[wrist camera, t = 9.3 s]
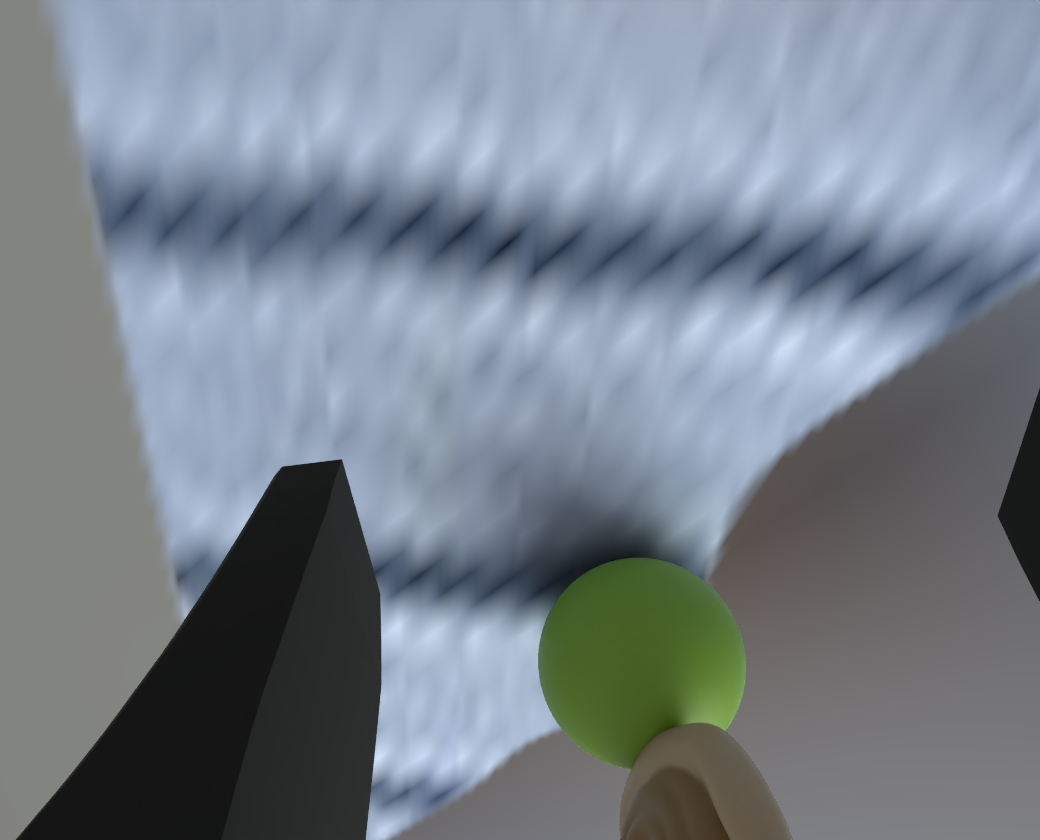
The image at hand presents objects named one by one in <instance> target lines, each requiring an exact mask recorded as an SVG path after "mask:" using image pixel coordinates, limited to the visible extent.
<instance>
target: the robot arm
mask: <svg viewBox="0 0 1040 840" xmlns="http://www.w3.org/2000/svg"><path fill="white" fill-rule="evenodd" d="M998 517H999V520H1000V522H1001V524H1002V526H1003V528H1004V530H1005V532H1006V535H1007V536H1008V539H1009V541H1010V543H1011V545H1012V547H1013V549H1014V552H1015V554H1016V556H1017V558H1018V560H1019V562H1020V564H1021V566H1022V568H1023V570H1024V572H1025V574H1026V576H1027V578H1028V580H1029V582H1030V584H1031V585H1032V587H1033V589H1034V591H1035V593H1036V595H1037V597H1038V599H1039V601H1040V389H1039V392H1038V395H1037V398H1036V401H1035V404H1034V407H1033V411H1032V414H1031V416H1030V420H1029V423H1028V426H1027V429H1026V432H1025V435H1024V438H1023V441H1022V444H1021V447H1020V450H1019V453H1018V456H1017V459H1016V462H1015V465H1014V468H1013V472H1012V474H1011V477H1010V480H1009V483H1008V486H1007V490H1006V492H1005V495H1004V499H1003V501H1002V504H1001V508H1000V510H999V513H998ZM380 693H381V609H380V592H379V588H378V584H377V581H376V577H375V574H374V570H373V567H372V563H371V560H370V556H369V553H368V549H367V546H366V542H365V539H364V535H363V532H362V528H361V525H360V521H359V518H358V514H357V511H356V507H355V504H354V500H353V497H352V493H351V490H350V486H349V483H348V479H347V476H346V472H345V469H344V465H343V462H342V459H341V460H333V461H325V462H317V463H309V464H301V465H293V466H285V467H282V468H281V469H280V470H279V471H278V473H277V474H276V475H275V476H274V478H273V479H272V481H271V483H270V484H269V486H268V488H267V489H266V491H265V493H264V494H263V496H262V498H261V499H260V501H259V503H258V504H257V506H256V508H255V509H254V511H253V513H252V515H251V516H250V518H249V520H248V521H247V523H246V525H245V526H244V528H243V529H242V531H241V533H240V534H239V536H238V538H237V539H236V541H235V543H234V544H233V546H232V547H231V549H230V551H229V552H228V554H227V555H226V557H225V559H224V560H223V562H222V564H221V565H220V567H219V568H218V570H217V572H216V573H215V575H214V576H213V578H212V579H211V581H210V582H209V584H208V585H207V587H206V588H205V590H204V591H203V593H202V594H201V596H200V597H199V599H198V601H197V602H196V604H195V605H194V607H193V608H192V610H191V611H190V613H189V614H188V616H187V617H186V619H185V620H184V622H183V623H182V625H181V626H180V628H179V629H178V631H177V632H176V634H175V636H174V637H173V638H172V640H171V641H170V643H169V644H168V646H167V647H166V648H165V650H164V651H163V653H162V654H161V656H160V657H159V658H158V660H157V661H156V662H155V664H154V665H153V667H152V668H151V669H150V671H149V672H148V673H147V675H146V676H145V678H144V679H143V680H142V682H141V683H140V684H139V686H138V687H137V689H136V690H135V691H134V692H133V694H132V695H131V696H130V698H129V699H128V701H127V702H126V703H125V705H124V706H123V707H122V709H121V710H120V712H119V713H118V714H117V716H116V717H115V718H114V720H113V721H112V722H111V724H110V725H109V727H108V728H107V729H106V730H105V732H104V733H103V734H102V736H101V737H100V738H99V740H98V741H97V742H96V743H95V745H94V746H93V747H92V749H91V750H90V751H89V752H88V753H87V755H86V756H85V757H84V759H83V760H82V761H81V762H80V764H79V765H78V766H77V767H76V769H75V770H74V771H73V772H72V773H71V775H70V776H69V777H68V778H67V780H66V781H65V782H64V783H63V785H62V786H61V787H60V788H59V789H58V791H57V792H56V793H55V794H54V795H53V797H52V798H51V799H50V800H49V801H48V802H47V804H46V805H45V806H44V807H43V808H42V809H41V811H40V812H39V813H38V814H37V815H36V817H35V818H34V819H33V820H32V821H31V822H30V824H29V825H28V826H27V827H26V828H25V829H24V831H23V832H22V833H21V834H20V835H19V837H18V838H17V839H16V840H366V830H367V821H368V811H369V802H370V792H371V783H372V773H373V764H374V754H375V744H376V734H377V724H378V714H379V704H380Z"/></svg>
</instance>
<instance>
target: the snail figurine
mask: <svg viewBox="0 0 1040 840" xmlns="http://www.w3.org/2000/svg"><path fill="white" fill-rule="evenodd" d="M538 668H539V677H540V683H541V687H542V691H543V694H544V697H545V700H546V702H547V705H548V707H549V709H550V711H551V713H552V715H553V717H554V718H555V720H556V722H557V723H558V724H559V726H560V727H561V729H562V730H563V731H564V732H565V733H566V734H567V736H568V737H569V738H570V739H571V740H572V741H573V742H575V743H576V744H577V745H578V746H579V747H580V748H581V749H583V750H584V751H585V752H587V753H589V754H590V755H592V756H593V757H595V758H597V759H599V760H601V761H603V762H605V763H608V764H610V765H613V766H617V767H620V768H624V769H630V770H631V772H630V774H629V777H628V779H627V781H626V784H625V787H624V790H623V793H622V799H621V805H620V820H619V822H620V823H619V825H620V836H621V838H620V840H793V838H792V835H791V832H790V829H789V827H788V824H787V822H786V820H785V817H784V815H783V813H782V811H781V809H780V807H779V805H778V803H777V801H776V799H775V797H774V795H773V794H772V792H771V790H770V788H769V786H768V784H767V783H766V781H765V779H764V778H763V776H762V774H761V773H760V771H759V770H758V768H757V767H756V765H755V764H754V762H753V761H752V759H751V758H750V756H749V755H748V754H747V752H746V751H745V750H744V749H743V748H742V746H741V745H740V744H739V743H738V742H737V741H736V740H735V739H734V738H733V737H732V736H731V735H730V734H729V733H728V732H726V731H725V730H726V729H727V728H728V726H729V725H730V723H731V721H732V720H733V718H734V716H735V714H736V712H737V709H738V707H739V704H740V701H741V698H742V695H743V690H744V684H745V677H746V660H745V651H744V645H743V641H742V637H741V634H740V631H739V628H738V626H737V624H736V622H735V619H734V617H733V615H732V613H731V612H730V610H729V608H728V607H727V606H726V604H725V602H724V601H723V600H722V599H721V597H720V596H719V595H718V594H717V593H716V592H715V591H714V590H713V589H712V588H711V587H710V586H709V585H708V584H707V583H706V582H705V581H703V580H702V579H701V578H699V577H698V576H697V575H695V574H693V573H692V572H690V571H688V570H686V569H684V568H682V567H680V566H678V565H675V564H673V563H670V562H666V561H662V560H658V559H652V558H625V559H619V560H615V561H611V562H608V563H605V564H602V565H600V566H597V567H595V568H593V569H591V570H589V571H588V572H586V573H584V574H583V575H582V576H580V577H579V578H577V579H576V580H575V581H574V582H573V583H572V584H570V585H569V586H568V587H567V588H566V589H565V591H564V592H563V593H562V594H561V595H560V597H559V598H558V599H557V601H556V602H555V604H554V605H553V607H552V609H551V611H550V613H549V615H548V617H547V619H546V621H545V624H544V627H543V630H542V634H541V638H540V644H539V653H538Z"/></svg>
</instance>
